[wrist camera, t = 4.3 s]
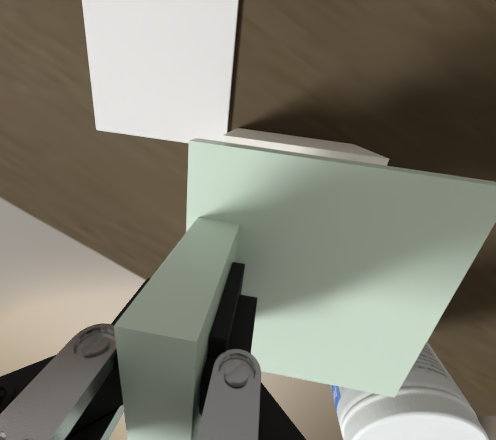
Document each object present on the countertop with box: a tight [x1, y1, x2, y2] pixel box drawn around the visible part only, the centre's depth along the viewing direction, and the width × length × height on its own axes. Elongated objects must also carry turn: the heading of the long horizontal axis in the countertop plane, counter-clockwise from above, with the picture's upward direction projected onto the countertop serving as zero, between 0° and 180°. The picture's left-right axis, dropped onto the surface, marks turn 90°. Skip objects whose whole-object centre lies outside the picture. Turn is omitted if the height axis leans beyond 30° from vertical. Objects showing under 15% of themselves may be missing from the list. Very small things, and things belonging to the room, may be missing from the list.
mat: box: [82, 0, 239, 143], centre depth 22 cm, size 13×13×1 cm
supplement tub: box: [331, 342, 489, 440], centre depth 24 cm, size 10×10×15 cm
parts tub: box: [222, 128, 389, 166], centre depth 23 cm, size 11×11×8 cm
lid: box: [114, 138, 496, 440], centre depth 10 cm, size 12×12×8 cm
